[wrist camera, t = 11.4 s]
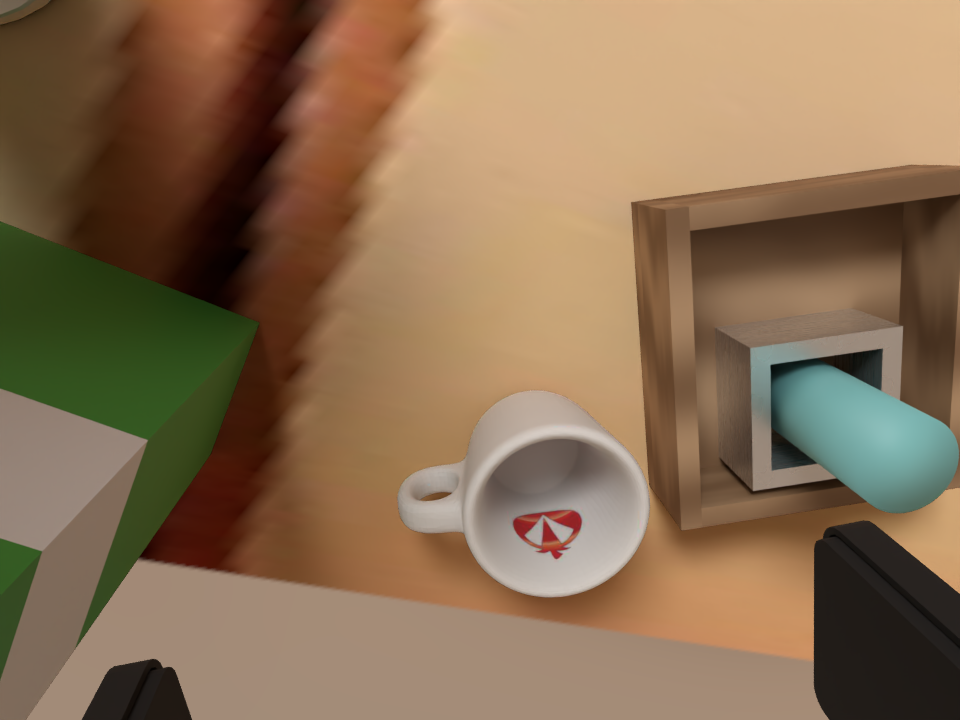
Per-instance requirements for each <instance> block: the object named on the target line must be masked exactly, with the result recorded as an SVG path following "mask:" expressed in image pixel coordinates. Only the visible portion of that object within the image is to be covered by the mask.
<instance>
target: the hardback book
mask: <svg viewBox="0 0 960 720" xmlns="http://www.w3.org/2000/svg"><path fill="white" fill-rule="evenodd" d="M258 326H259V322H256V321H254V320H251V319H249V318H246V317H243V316H241V315H238V314H236V313H233V312H231V311H228V310H226V309H223V308H220V307H218V306H215V305H213V304H210V303H208V302H205V301H203V300H200V299H197V298H195V297H192V296H190V295H187V294H185V293H182V292H179V291H177V290H174V289H172V288H169V287H167V286H164V285H162V284H159V283H156V282H154V281H151V280H149V279H146V278H144V277H141V276H138V275H136V274H133V273H131V272H128V271H126V270H123V269H121V268H118V267H115V266H113V265H110V264H108V263H105V262H103V261H100V260H98V259H95V258H92V257H90V256H87V255H85V254H82V253H80V252H77V251H74V250H72V249H69V248H67V247H64V246H62V245H59V244H57V243H54V242H51V241H49V240H46V239H44V238H41V237H39V236H36V235H34V234H31V233H28V232H26V231H23V230H21V229H18V228H16V227H13V226H10V225H8V224H5V223H3V222H0V720H26V719H27V717H28V716H29V715H30V713H31V712H32V710H33V709H34V707H35V705H36V704H37V703H38V702H39V700H40V699H41V697H42V696H43V694H44V693H45V691H46V690H47V689H48V687H49V686H50V684H51V683H52V682H53V680H54V679H55V677H56V676H57V674H58V673H59V671H60V670H61V668H62V667H63V666H64V664H65V663H66V661H67V660H68V659H69V657H70V656H71V654H72V653H73V651H74V650H75V648H76V647H77V645H78V644H79V643H80V641H81V640H82V638H83V637H84V636H85V634H86V633H87V631H88V630H89V628H90V627H91V625H92V624H93V623H94V621H95V620H96V618H97V617H98V615H99V614H100V613H101V611H102V609H103V608H104V607H105V605H106V604H107V603H108V601H109V600H110V598H111V597H112V595H113V594H114V592H115V591H116V589H117V588H118V586H119V585H120V584H121V582H122V581H123V580H124V578H125V577H126V575H127V574H128V572H129V571H130V569H131V568H132V567H133V565H134V564H135V562H136V561H137V559H138V558H139V557H140V555H141V554H142V552H143V551H144V549H145V548H146V546H147V545H148V544H149V542H150V541H151V539H152V538H153V536H154V535H155V534H156V532H157V531H158V529H159V528H160V526H161V525H162V523H163V522H164V521H165V519H166V518H167V516H168V515H169V513H170V512H171V511H172V509H173V508H174V506H175V505H176V503H177V502H178V501H179V499H180V498H181V496H182V495H183V493H184V492H185V490H186V489H187V488H188V486H189V485H190V483H191V482H192V480H193V479H194V478H195V476H196V475H197V473H198V472H199V470H200V469H201V467H202V466H203V465H204V463H205V462H206V460H207V459H208V457H209V456H210V454H211V452H212V449H213V446H214V444H215V441H216V438H217V436H218V433H219V430H220V428H221V425H222V422H223V419H224V417H225V414H226V411H227V409H228V406H229V403H230V401H231V398H232V395H233V393H234V390H235V387H236V385H237V382H238V379H239V377H240V374H241V371H242V369H243V366H244V363H245V361H246V358H247V355H248V353H249V350H250V347H251V345H252V342H253V339H254V336H255V334H256V331H257V328H258Z"/></svg>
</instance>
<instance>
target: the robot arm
mask: <svg viewBox="0 0 960 720" xmlns="http://www.w3.org/2000/svg"><path fill="white" fill-rule="evenodd" d="M49 1H51V0H0V25H1V24H5V23H8V22H12V21H15V20H19V19H21V18H23V17H25V16H27V15H29V14H30V13H32V12H34V11H36V10H38V9H40V8H42V7H43V6H45V5H46V4H47V3H48V2H49ZM814 689H815V693H816V697H817V699H818V702H819V704H820V706H821V708H822V710H823V711H824V713H825V714H826V716H827V717H828V718H829V720H960V594H959V593H958V592H957V591H955V590H954V589H953V588H952V587H951V586H949V585H948V584H947V583H946V582H944V581H943V580H942V579H941V578H940V577H938V576H937V575H936V574H935V573H933V572H932V571H931V570H930V569H929V568H927V567H926V566H925V565H924V564H922V563H921V562H920V561H919V560H917V559H916V558H915V557H914V556H913V555H911V554H910V553H909V552H908V551H906V550H905V549H904V548H903V547H902V546H900V545H899V544H898V543H897V542H895V541H894V540H893V539H892V538H891V537H889V536H888V535H887V534H886V533H884V532H883V531H882V530H881V529H880V528H878V527H877V526H876V525H875V524H873V523H871V522H870V521H859V522H854V523H849V524H844V525H838V526H833V527H829V528H827V529H826V530H825V532H824V536H823V539H820V540H818V541H816V543H815V548H814ZM82 720H192V718H191V715H190V712H189V710H188V707H187V704H186V701H185V698H184V695H183V692H182V689H181V686H180V683H179V680H178V677H177V675H176V672H175V670H174V669H173V668H172V667H166V668H163V667H162V665H161V663H160V662H159V661H158V660H156V659H150V660H146V661H140V662H135V663H130V664H125V665H119V666H114V667H113V668H111V669H110V670H109V671H108V672H107V674H106V675H105V677H104V679H103V681H102V683H101V684H100V686H99V688H98V690H97V692H96V694H95V696H94V698H93V700H92V702H91V704H90V705H89V707H88V709H87V711H86V713H85V715H84V717H83V718H82Z"/></svg>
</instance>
